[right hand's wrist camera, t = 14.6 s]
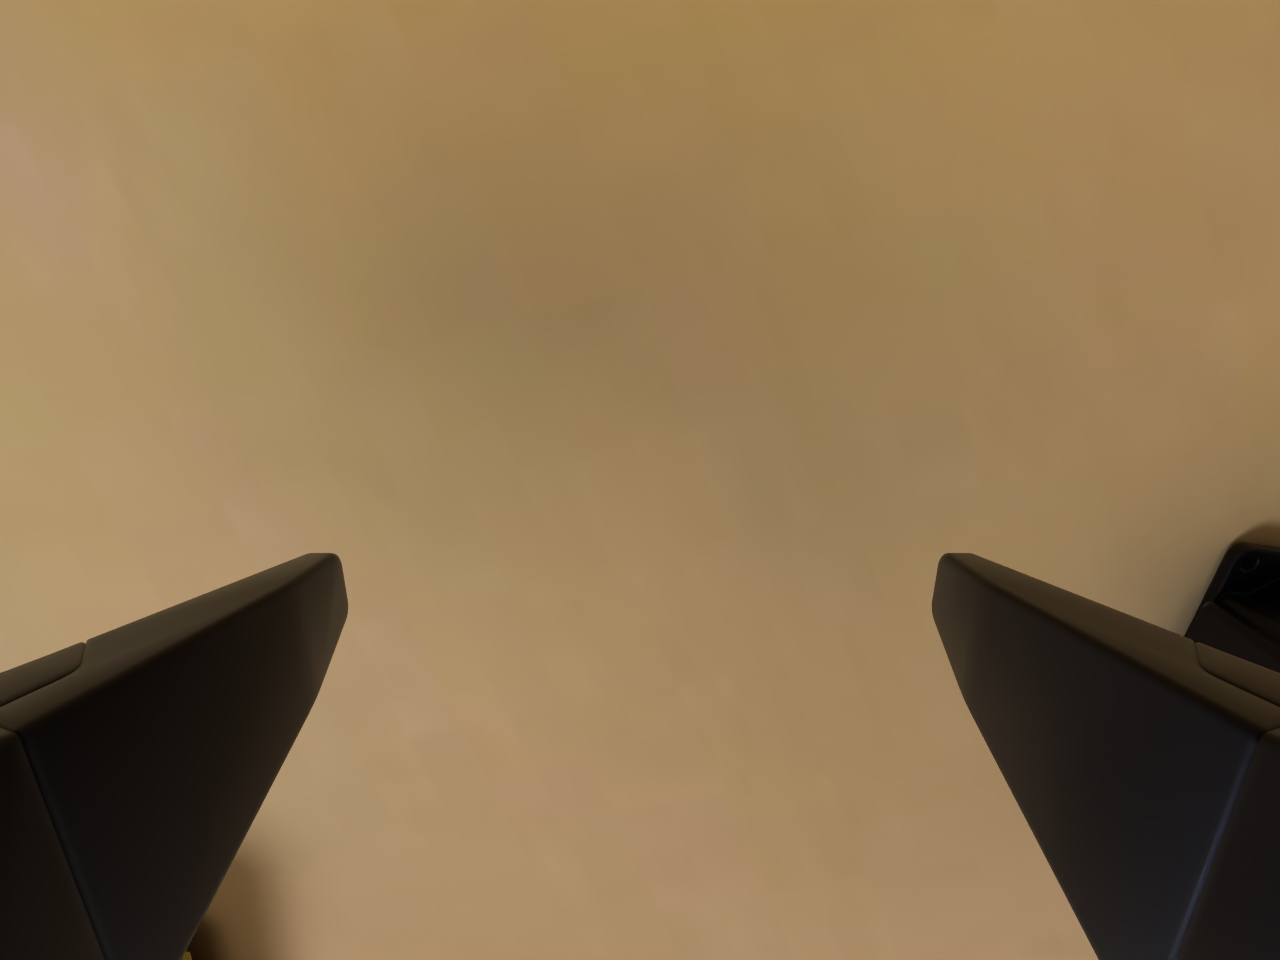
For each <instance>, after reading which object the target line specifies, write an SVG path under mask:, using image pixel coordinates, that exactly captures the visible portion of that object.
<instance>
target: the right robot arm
mask: <svg viewBox="0 0 1280 960" xmlns="http://www.w3.org/2000/svg"><path fill="white" fill-rule="evenodd" d="M1247 557H1248V559H1247V560H1246V561H1245V562H1244V563H1242V561H1243V560H1244V559H1245V558H1247ZM347 613H348V599H347V593H346V587H345V581H344V575H343V569H342V564H341V561H340V559H339V557H338V556H337V555H336V554H333V553H309V554H306V555H303V556H301V557H298V558H295V559H293V560H290V561H288V562H285V563H283V564H280V565H278V566H275V567H272V568H270V569H267V570H265V571H262V572H260V573H257V574H255V575H252V576H249V577H247V578H244V579H242V580H239V581H237V582H234V583H232V584H229V585H226V586H224V587H221V588H219V589H216V590H214V591H211V592H209V593H206V594H203V595H201V596H198V597H196V598H193V599H191V600H188V601H186V602H183V603H180V604H178V605H175V606H173V607H170V608H168V609H165V610H163V611H160V612H157V613H155V614H152V615H150V616H147V617H145V618H142V619H140V620H137V621H134V622H132V623H129V624H127V625H124V626H122V627H119V628H117V629H114V630H111V631H109V632H106V633H104V634H101V635H99V636H96V637H94V638H91V639H89V640H87V642H86V644H85V643H83V642H81V643H78V644H75V645H73V646H70V647H68V648H65V649H63V650H60V651H57V652H55V653H52V654H50V655H47V656H44V657H42V658H39V659H36V660H34V661H31V662H29V663H26V664H23V665H21V666H18V667H15V668H13V669H10V670H7V671H5V672H2V673H0V960H181V959H182V957H183V955H184V953H185V951H186V950H187V948H188V946H189V944H190V942H191V940H192V938H193V936H194V934H195V932H196V930H197V928H198V926H199V924H200V923H201V921H202V919H203V917H204V915H205V913H206V911H207V909H208V907H209V905H210V903H211V901H212V899H213V897H214V896H215V894H216V892H217V890H218V888H219V886H220V884H221V882H222V880H223V878H224V876H225V874H226V872H227V870H228V869H229V867H230V865H231V863H232V861H233V859H234V857H235V855H236V853H237V851H238V849H239V847H240V845H241V843H242V842H243V840H244V838H245V836H246V834H247V832H248V830H249V828H250V826H251V824H252V822H253V820H254V818H255V816H256V815H257V813H258V811H259V809H260V807H261V805H262V803H263V801H264V799H265V797H266V795H267V793H268V791H269V789H270V788H271V786H272V784H273V782H274V780H275V778H276V776H277V774H278V772H279V770H280V768H281V766H282V764H283V763H284V761H285V759H286V757H287V755H288V753H289V751H290V749H291V747H292V745H293V743H294V741H295V739H296V737H297V736H298V734H299V732H300V730H301V728H302V726H303V724H304V722H305V720H306V718H307V716H308V714H309V712H310V710H311V708H312V706H313V704H314V702H315V700H316V697H317V695H318V693H319V690H320V688H321V685H322V683H323V680H324V677H325V675H326V672H327V669H328V666H329V664H330V661H331V658H332V656H333V653H334V650H335V648H336V645H337V642H338V640H339V637H340V634H341V632H342V629H343V626H344V624H345V621H346V618H347ZM932 613H933V618H934V621H935V624H936V626H937V629H938V632H939V634H940V637H941V640H942V642H943V645H944V648H945V650H946V653H947V656H948V658H949V661H950V664H951V666H952V669H953V672H954V675H955V677H956V680H957V683H958V685H959V688H960V690H961V693H962V695H963V697H964V700H965V702H966V704H967V706H968V708H969V710H970V712H971V714H972V716H973V718H974V720H975V722H976V724H977V726H978V728H979V730H980V732H981V734H982V736H983V737H984V739H985V741H986V743H987V745H988V747H989V749H990V751H991V753H992V755H993V757H994V759H995V761H996V763H997V764H998V766H999V768H1000V770H1001V772H1002V774H1003V776H1004V778H1005V780H1006V782H1007V784H1008V786H1009V788H1010V790H1011V791H1012V793H1013V795H1014V797H1015V799H1016V801H1017V803H1018V805H1019V807H1020V809H1021V811H1022V813H1023V815H1024V816H1025V818H1026V820H1027V822H1028V824H1029V826H1030V828H1031V830H1032V832H1033V834H1034V836H1035V838H1036V840H1037V842H1038V843H1039V845H1040V847H1041V849H1042V851H1043V853H1044V855H1045V857H1046V859H1047V861H1048V863H1049V865H1050V867H1051V869H1052V870H1053V872H1054V874H1055V876H1056V878H1057V880H1058V882H1059V884H1060V886H1061V888H1062V890H1063V892H1064V894H1065V896H1066V897H1067V899H1068V901H1069V903H1070V905H1071V907H1072V909H1073V911H1074V913H1075V915H1076V917H1077V919H1078V921H1079V923H1080V924H1081V926H1082V928H1083V930H1084V932H1085V934H1086V936H1087V938H1088V940H1089V942H1090V944H1091V946H1092V948H1093V950H1094V951H1095V953H1096V955H1097V957H1098V959H1099V960H1280V548H1276V547H1269V546H1262V545H1255V544H1248V543H1243V544H1238V545H1236V546H1234V547H1232V548H1231V549H1229V550H1228V552H1227V553H1226V554H1225V556H1224V558H1223V560H1222V562H1221V564H1220V566H1219V568H1218V570H1217V572H1216V574H1215V576H1214V578H1213V580H1212V582H1211V584H1210V586H1209V588H1208V590H1207V592H1206V594H1205V596H1204V598H1203V600H1202V602H1201V604H1200V606H1199V608H1198V610H1197V612H1196V614H1195V616H1194V618H1193V620H1192V622H1191V624H1190V626H1189V628H1188V630H1187V632H1186V634H1185V636H1181V635H1179V634H1176V633H1174V632H1171V631H1169V630H1166V629H1163V628H1161V627H1158V626H1156V625H1153V624H1151V623H1148V622H1146V621H1143V620H1140V619H1138V618H1135V617H1133V616H1130V615H1128V614H1125V613H1123V612H1120V611H1117V610H1115V609H1112V608H1110V607H1107V606H1105V605H1102V604H1100V603H1097V602H1094V601H1092V600H1089V599H1087V598H1084V597H1082V596H1079V595H1077V594H1074V593H1071V592H1069V591H1066V590H1064V589H1061V588H1059V587H1056V586H1054V585H1051V584H1048V583H1046V582H1043V581H1041V580H1038V579H1036V578H1033V577H1031V576H1028V575H1025V574H1023V573H1020V572H1018V571H1015V570H1013V569H1010V568H1008V567H1005V566H1002V565H1000V564H997V563H995V562H992V561H990V560H987V559H985V558H982V557H979V556H977V555H974V554H971V553H947V554H944V555H943V556H942V557H941V559H940V561H939V564H938V569H937V575H936V581H935V587H934V593H933V599H932Z"/></svg>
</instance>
